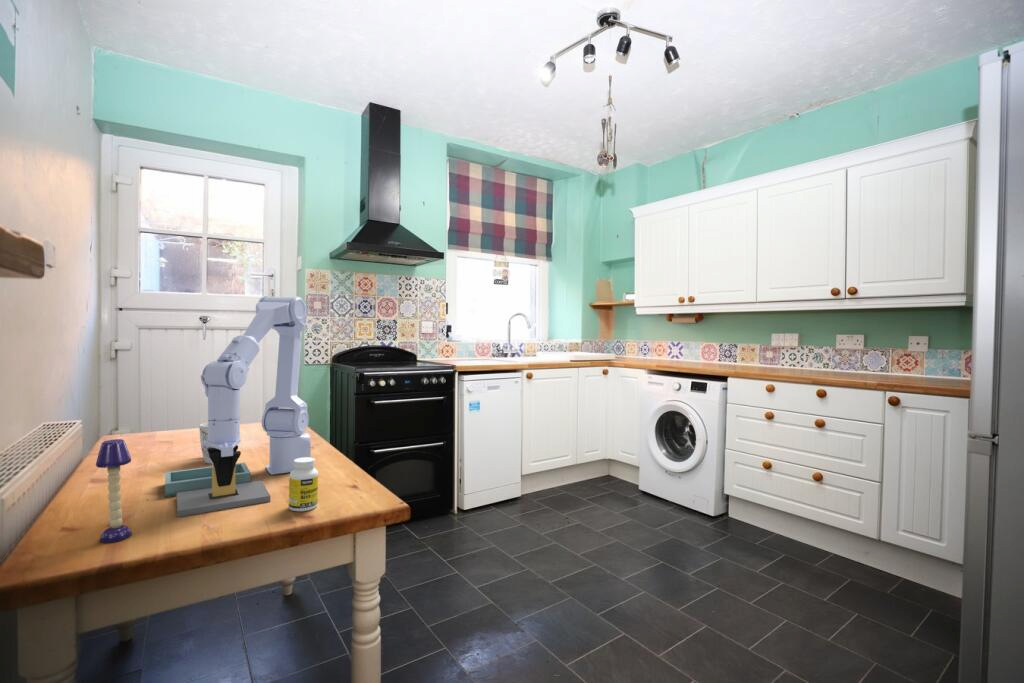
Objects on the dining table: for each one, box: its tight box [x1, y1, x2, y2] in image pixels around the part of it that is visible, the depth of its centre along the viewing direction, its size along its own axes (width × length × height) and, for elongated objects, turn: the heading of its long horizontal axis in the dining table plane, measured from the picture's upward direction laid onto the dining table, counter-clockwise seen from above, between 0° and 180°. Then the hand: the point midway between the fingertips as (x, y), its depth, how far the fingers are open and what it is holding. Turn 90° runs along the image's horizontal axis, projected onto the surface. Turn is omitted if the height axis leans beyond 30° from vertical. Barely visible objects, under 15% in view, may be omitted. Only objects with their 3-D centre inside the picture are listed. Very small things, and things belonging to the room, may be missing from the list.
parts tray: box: [164, 462, 251, 498], centre depth 111 cm, size 16×10×3 cm, turn 125°
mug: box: [198, 421, 213, 465], centre depth 132 cm, size 11×8×10 cm
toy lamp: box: [95, 438, 133, 544], centre depth 83 cm, size 5×5×17 cm
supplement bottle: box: [288, 457, 319, 512], centre depth 99 cm, size 5×5×10 cm
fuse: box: [211, 462, 236, 497], centre depth 102 cm, size 4×3×7 cm
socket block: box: [176, 480, 271, 518], centre depth 102 cm, size 16×12×1 cm
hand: (223, 483), depth 102 cm, fingers closed on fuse, 3 cm apart
